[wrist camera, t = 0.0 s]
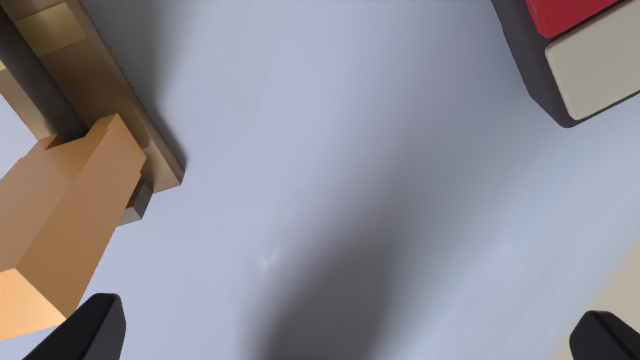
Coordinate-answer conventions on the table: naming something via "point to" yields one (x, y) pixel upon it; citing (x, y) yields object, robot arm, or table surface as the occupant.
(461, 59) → the table surface
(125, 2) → the table surface
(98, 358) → the robot arm
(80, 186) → the orange slab
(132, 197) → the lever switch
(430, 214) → the table surface
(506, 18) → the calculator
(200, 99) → the table surface
